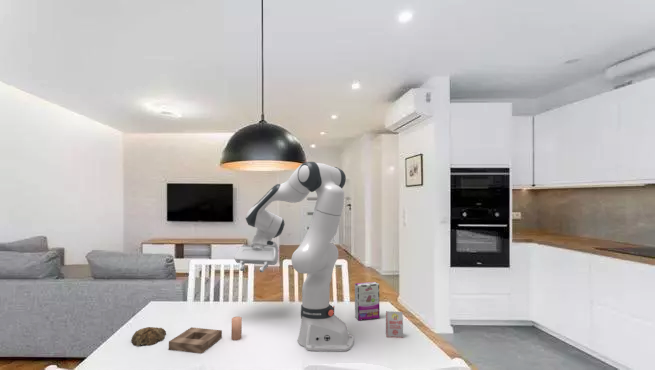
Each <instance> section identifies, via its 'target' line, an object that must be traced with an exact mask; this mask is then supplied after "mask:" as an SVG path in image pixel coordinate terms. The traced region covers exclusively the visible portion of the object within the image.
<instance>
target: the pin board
mask: <svg viewBox="0 0 655 370" xmlns="http://www.w3.org/2000/svg"><path fill="white" fill-rule="evenodd" d="M222 338H223V330H222V329H210V328H201V327H192V326H191V327H189V328H188V329H186V330H184V331H183V332H182V333H180V334H179V335H177V336H176V337H173V338H172V339H170V340H169V341H168V351H178V352H186V353H195V354H203V353H204V352H206V351H208V349H210V348H212V346H213V345H214V344H216V343H217V342H219V341H220V340H221V339H222Z"/></svg>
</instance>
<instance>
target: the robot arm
mask: <svg viewBox="0 0 655 370" xmlns="http://www.w3.org/2000/svg"><path fill="white" fill-rule="evenodd" d="M346 178H347V177H346V174H345V172H344V171H343V170H342V169H340V168H339V167H337V166H332V165H329V164H327V163H322V162H315V161H306V162H303V163H301V164H300V165H299V166H298V167H296V169H295V170H294V171H293V172H292V173H291V174H290V176H289V177H288V179H287V180H286V181H285V182H283V183H277V184H275V185H273V186H272V187H271V188H270V189H269V190H268V191H267V192H266V193H265V194H264V195H263V197H261V198H260V199H259V201H257V202H256V203H255V204H254V205H253V206H252V207H251V208H249V210H248V211H247V212H246V215H245V221H246V223H247V225H248V226H250V227H252V228H256V231H255V235H254V236H253V239H252V241H251V244H250V245H246V244H244V245H241V246H239V247H238V250H237V251H236V253H235V255H234V257H233V258H234V260H235V263H237V264H240V267H239V270H240V272H244V271H245V269H246V268H245V267H246V266H245V264H247V265H248V264H249V265H262V266H260V268H259V272H260V273H264V271H265V270H266V269H267V268H268V266H270V265H271V266H275V265H276V264H277V263H278V260H279V251H280V250H279V247H278V245H277V243H276V242H275V241H274V240H273V241H272V239H275V238H277V237H280V235H282V233H283V230H284V227H285V221H284V218H283V217H281V216H279V215H278V214H276V213H273V212H271V211H270V210H267V209H266V208H268V206H269V205H271V203H272V202H277V201H278V202H286V203H294V204H296V203H300V202H302V201H304V200H305V198H307V197H308V196H309V194H310V192H311V193H313V192H315V193H316V202H315V205H314V209H313V213H312V217H311V220H310V224H309V227H308V229H307V232H306V233H305V235H304V237H303V239H302V240H301V242H300V244H299V246H298V247H297V248H296V250H294V252H293V253H292V256H291V259H290V261H291V265H292V267H293V269H294V270H295V272H297V273H299V274H307V275H306V278H305V280H304V282H303V283H302V286H301V288H302V290H301V291H302V292H301V293H302V294H301V297H302V298H301V299H302V300H301V302H302V303H301V306H300V319H301V322H300V329H299V334H298V337H297V338H298V339H297V342H298V344H299V345H301V346H302V347H304V348H305V349H306V350H307V351H311V352H312V351H313V352H316V351H317V352H319V351H320V352H347V351H350V350H351V349H352V348H353V345H354V343H355V338H354V336H353V335H352V334H350V333H349V330H348V326H347V323H346V322H345V321H344V320H341V318H340V317H338V316H337V315H336V314H335V305H333V306H332V305H331V303H330V292H331V291H330V290H331V289H330V288H331V281H332V277H333V271H334V268H335V264H336V262H337V260H338V258H339V250H338V246H336V244H334V243H332V242H331V241H332V240H333V238H334V237H335V236H336V234H337V232H338V229H339V225H340V221H341V218H342V213H343V209H344V201H345V191H344V189H343V188H344V187H345V184H346V182H347V181H346V180H347V179H346Z"/></svg>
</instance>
